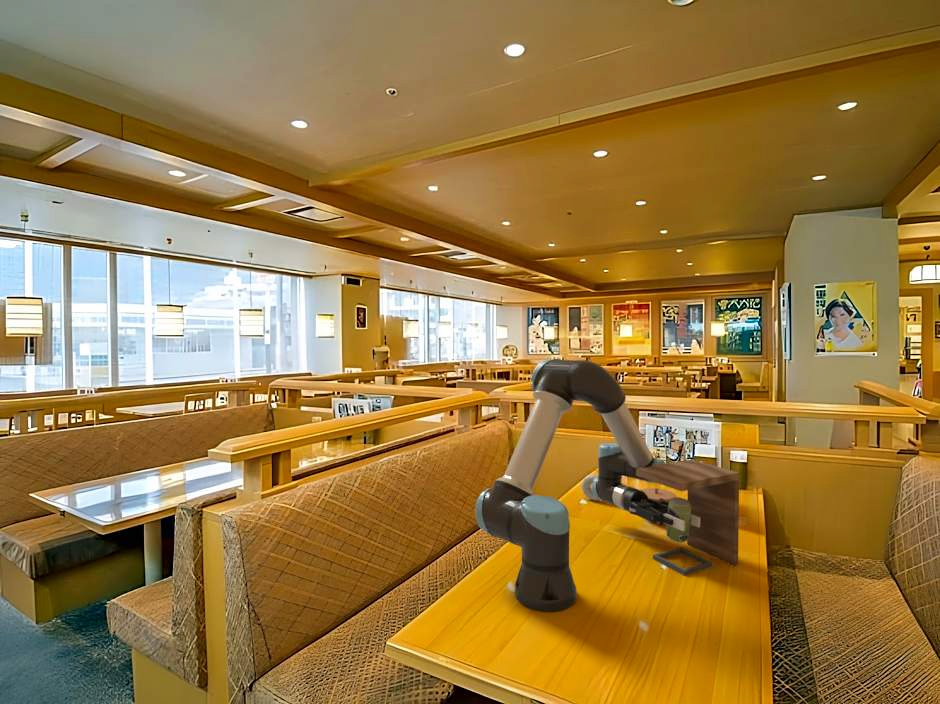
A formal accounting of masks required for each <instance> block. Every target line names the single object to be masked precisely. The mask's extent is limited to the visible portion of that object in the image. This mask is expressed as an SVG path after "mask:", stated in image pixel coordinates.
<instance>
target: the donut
mask: <svg viewBox="0 0 940 704" xmlns="http://www.w3.org/2000/svg"><path fill="white" fill-rule="evenodd" d="M598 476H599V475H597V474H588V475H586V476H585V477H584V478H583V480H582V482H581V490H582V493H583V494H584V496H585V497H586V498H587V499H588V500H591V501H594V502H595V501H596V502H598V501H602V500H601V499H599V498H598V497H596V496H595V495H594V494H593V492H592V489H591V486H592V484H593V480H594V479H595V478H596V477H598Z"/></svg>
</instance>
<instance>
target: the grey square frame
mask: <svg viewBox="0 0 940 704" xmlns="http://www.w3.org/2000/svg"><path fill="white" fill-rule="evenodd" d="M680 554H681V555H683V556H685V557H688V558H690V559H691V560H693V561H696V562H697V563H699V564H695V565H692V566H688V567H686V568H683V567H681V566H679V565H678V564H675V563H673V562H672V561H669V560H667V559H666V558H669V557H670V558H671V557H674V556H676V555H680ZM652 560H654V561H656V562H658V563H660V564H661V565H664V566H666V567H667V568H669V569H671V570H673V571H675V572H676V573H679V574H681V575H682V576H688V575H691V574H693V573H697V572H700V571H705V570H707V569H711V568H713V567H714V562H712V561H710V560H708V559H706V558H704V557H702V556H699V555H698V554H695V553H694V552H691V551H689V550H687V549H685V548H683V547H678V548H673V549H670V550H666V551H663V552H658V553H655V554H652Z"/></svg>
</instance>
